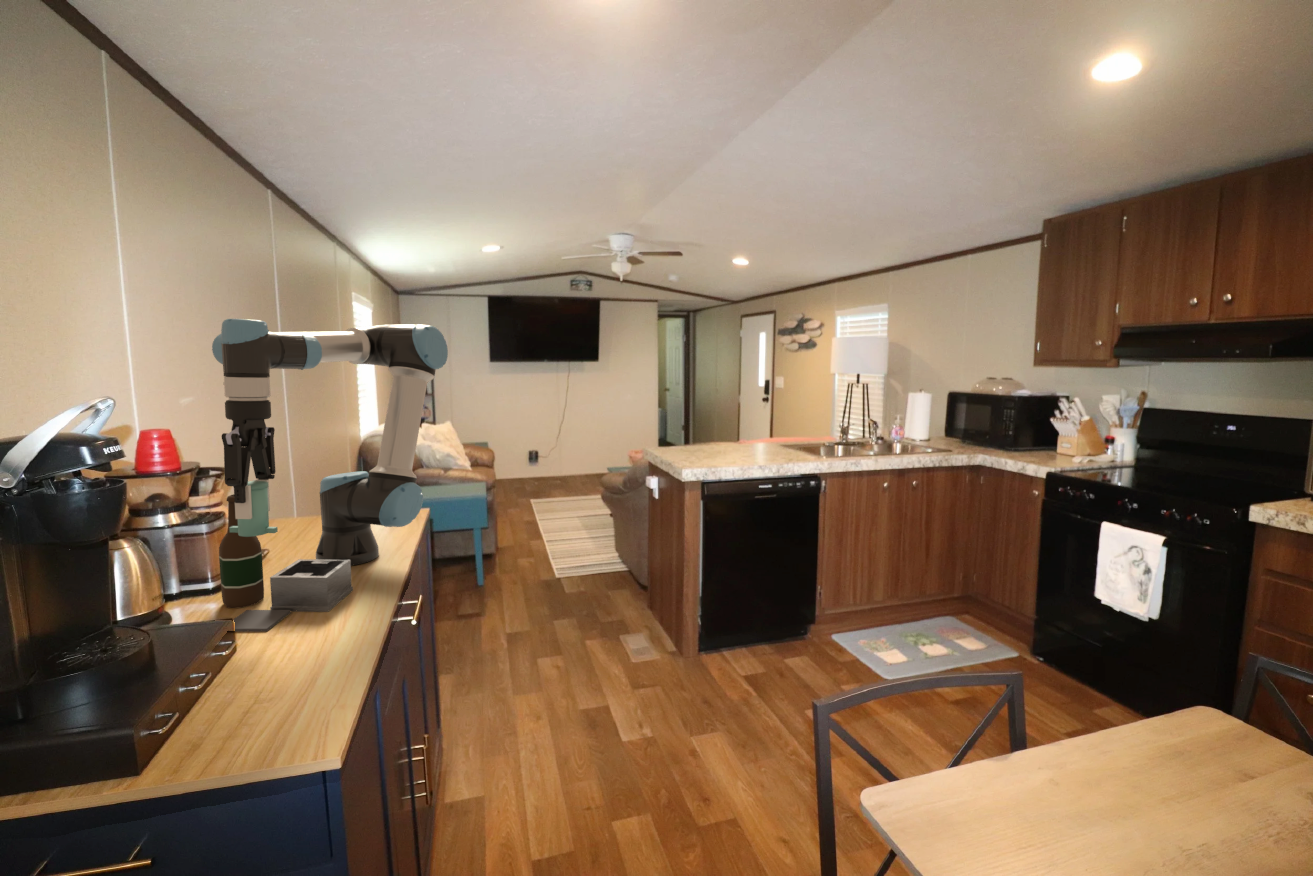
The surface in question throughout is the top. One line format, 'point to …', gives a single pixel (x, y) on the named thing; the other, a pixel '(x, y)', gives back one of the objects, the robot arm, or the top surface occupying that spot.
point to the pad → (259, 620)
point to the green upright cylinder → (256, 513)
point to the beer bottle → (240, 566)
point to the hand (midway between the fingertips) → (253, 514)
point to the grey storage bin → (311, 585)
